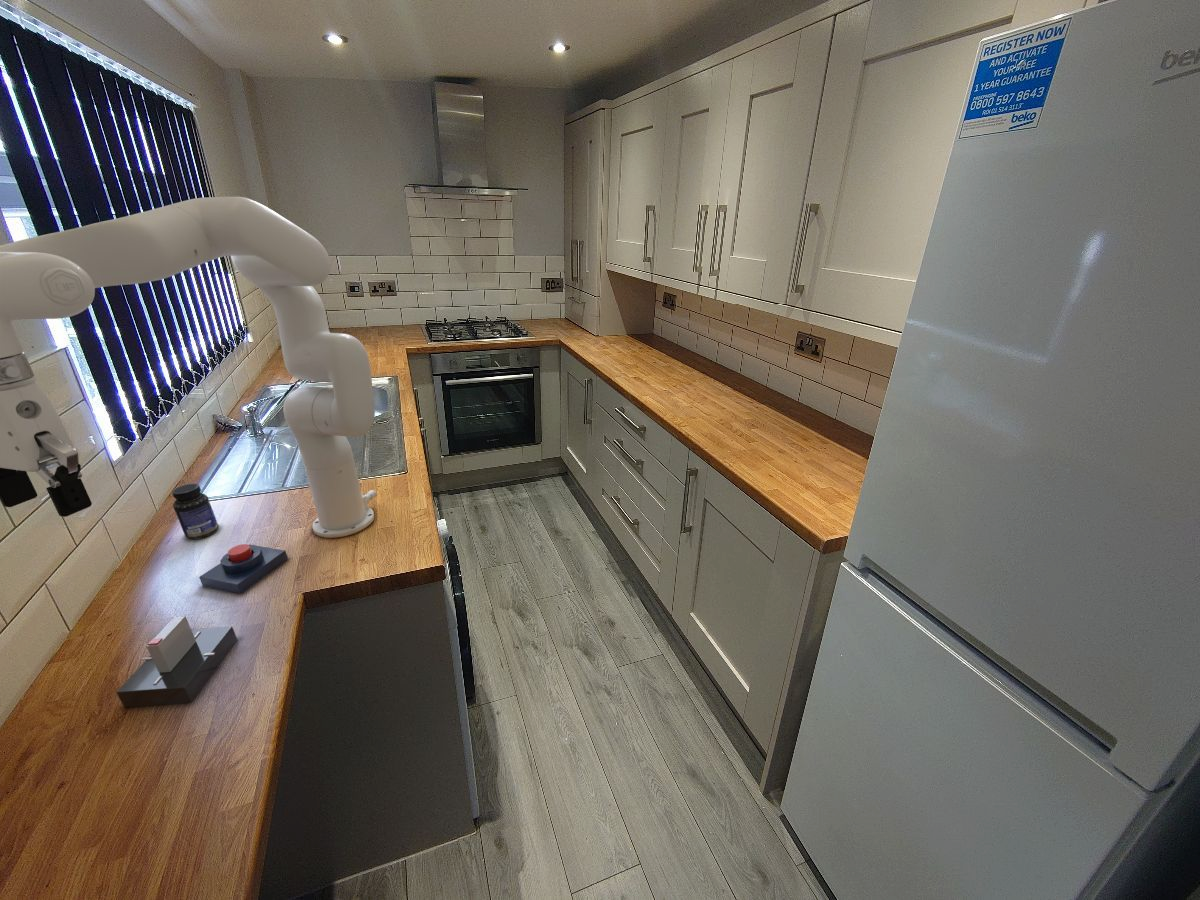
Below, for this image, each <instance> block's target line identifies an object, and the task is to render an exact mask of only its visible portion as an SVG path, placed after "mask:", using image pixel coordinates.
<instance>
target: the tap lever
mask: <svg viewBox="0 0 1200 900" xmlns="http://www.w3.org/2000/svg"><path fill="white" fill-rule="evenodd" d="M191 629H192V628H191V626H190V623H189V621H188V619H187V616H186V615H182V616H181V615H180V616H174V617H173V618H172V619H171V620H170V621H169V622H168V623H167V624H166V625H165V626H164V627H163V628H162V629H161V630H159V632H158V634H157V635H155V636H154V638H152V639H150V641H149V642H148V643H147V645H146V646H145V647H146V649H147V651H148V653H149V656H150V655H151V657H152V659H153V661H154V663H155V666H156V668H157V670H158V672H159V673H162V672H171V671H172V669H173V668H174V667H175V666H176V665H177V664H178V662H179V661H180V660H181V659H182V658H183V656H184V655H185V654H186V653H187V652H188V651H189V649H190V648H191V647H192V646H193V645H194V644H195V642H196V640H195V637H194V635H193V633H192V630H191Z"/></svg>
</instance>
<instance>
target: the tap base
mask: <svg viewBox="0 0 1200 900" xmlns="http://www.w3.org/2000/svg"><path fill="white" fill-rule="evenodd" d="M191 630H192V633H193V635H194V637H195V640H196V642H195V644H194V645H193V646H192V647H191V648H190V649H189V651H188V652H187V653H186V654H185V655H184V656H183V658H182V659H181V660H180V661H179V662H178V664H177V665H176V666H175V667H174V668H173V669H172V671H171V672H162V673H159V672H158V670H157V668H156V666H155V663H154V661H153V659H152V657H151V655H150V654H149V656H147V657H142V658H141V661H143V663H141V665H140V666H139V667H138V668H137V669H136V670H135V671H134V673H132V674H131V675H130V677H129V678H128V679H127V680H126V681H125V682H124V683H123V685H122V686H121V687H120V688H119V689H118V690H117V691H116V695H117V697H118V699H119V701H120V702H121V704H122V706H123V708H125V709H126V708H137V707H138V708H139V707H151V706H162V705H163V706H165V705H176V704H177V705H178V704H189V703H190V704H191V703H193V701H194V700H195V698H196V697H197V696H198V694H199V693H200V691H202V689H203V688H204V687H205V685H206V684H207V682H209V680H210V679H211V677H212V676H213V675H214V673H215V671H216V670H218V668H219V666H220V665H221V663H222V662H223V661H224V659H225V658H226V657H227V656H228V654H229V653H230V651H231V650H232V649H233V648H234V646H235V645H236V644H237V642H238V638H237V635H236V632H235V630H234V627H233V625H232V626H219V627H201V628H191Z"/></svg>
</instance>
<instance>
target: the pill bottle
mask: <svg viewBox="0 0 1200 900" xmlns="http://www.w3.org/2000/svg"><path fill="white" fill-rule="evenodd" d="M201 491H202V489H201V486H200V485H199V484H198V483H188V484H183V485H181V486H177V487H175V488H174V489H173V490H172V491H171V494H172V496H173V498H174V499H175V501H173V504H172V507H173V510H174V512H175V515H176V517H177V520H178V523H179V525H180V528H181V529H182V532H183V535H184V537H185V538H186V539H189V540H201V539H204V538H207V537H210V536H211V535H214V534H215V533H217V532H218V530H219V527H220V526H219V523H218V521H217V517H216V515H215V513H214V510H213V508H212V505H211V502H210V500H209V497H208V496H207V494H205V493H203V492H201Z"/></svg>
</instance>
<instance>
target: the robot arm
mask: <svg viewBox="0 0 1200 900" xmlns="http://www.w3.org/2000/svg"><path fill="white" fill-rule="evenodd" d="M223 257H231V260H232V263H233V265H234V267H235V268H236V270H237V271H238V272H239V273H240V275H242V277H244V278H245V279H246V280H247V281H249V282H250V283H252V284H253V285H254V286H256V287H257V288H258V289H259V290H260V291H261V292H262V293H263V294H264V295H265V296H266V297H267V299H268V301H269V302H270V303H271V306H272V307H273V310H274V314H275V318H276V323H277V327H278V333H279V340H280V346H281V352H282V357H283V362H284V363H283V364H284V366H285V369H286V371H287V372H288V374H289V375H290V376H291V377H293V378H295V379H298V380H303V381H308V382H309V381H310V382H323V383H331V386H332V387H329V386H328V387H327V386H301V387H299V388H296V389H294V390H292V391H291V392H290V393H288V395H287V396H286V398H285V399H284V402H283V407H282V410H283V416H284V419H285V422H286V425H287V427H288V428H289V430H290V432H291V434H292V435H293V437H294V439H295V443H296V444H297V447H298V450H299V453H300V456H301V461H302V463H303V467H304V468H303V469H304V471H305V476H306V478H307V482H308V486H309V490H310V493H311V497H312V501H313V504H314V508H315V511H316V514H317V518H315V520H314V521H313V523H312V531H313V533H314V534H315V535H317V537H321V538H327V539H333V538H334V539H336V538H342V537H347V536H351V535H354V534H357V533H358V532H360V531H361V532H362V531H363V530H364V529H367V527H369V526H370V525H371V524H372V522H373V521H374V519H375V513H374V510H373V509H372V507H369V505H368V504H369V503H370V501H372V500H373V499H374V498H376V497H377V496H378V494H377V491H376V490H374V489H370V490H369V491H367V492H366V493H365V494H364V493H363V492H362V489H361V484H360V481H359V476H358V472H357V471H358V470H357V467H356V463H355V459H354V454H353V449H352V446H351V444H350V442H349V439H348V438H347V437H349V438H350V437H351V438H356V437H361V436H364V435H366V434H367V433H368V432H369V431H370V430H371V429H372V428H373V424H374V422H375V417H376V415H375V414H376V411H375V410H376V409H375V408H376V407H375V398H374V389H373V381H372V380H373V379H372V372H371V371H372V370H371V364H370V358H369V355H368V352H367V349H366V348H365V346H364V345H363V343H362V342H361V341H360V340H359V339H358V338H357V337H355V336H353V335H351V334H348V333H341V332H330V329H329V324H328V319H327V318H328V317H327V314H326V309H325V305H324V302H323V300H322V298H321V296H320V294H319V293H318V292H317V289H315V286H317V285H320V284H322V283H324V282H325V281H326V279H327V278H328V277H329V275H330V272H331V260H330V256H329V254H328V251H327V250H326V248H325V247H324V245H323V244H322V243H321V242H320V241H319V240H318V239H317V238H316V237H315V236H314V235H312V234H310V233H309V232H307V231H306V230H304V229H303V228H301V227H300V226H298V225H297V224H295V223H294V222H292V221H290V220H289V219H288V218H286V217H284V216H283V215H281V214H279V213H277V212H276V211H274V210H273V209H271V208H269V207H267V206H266V205H264V204H262V203H260V202H258V201H256V200H253V199H251V198H248V197H244V196H212V197H211V196H210V197H209V196H208V197H198V198H191V199H186V200H183V201H179V202H175V203H171V204H168V205H167V204H166V205H164V206H160V207H156V208H153V209H150V210H146V211H141V212H137V213H134V214H129V215H126V216H122V217H118V218H113V219H108V220H104V221H99V222H95V223H90V224H87V225H83V226H79V227H75V228H71V229H66V230H62V231H56V232H52V233H47V234H42V235H37V236H33V237H29V238H28V237H27V238H25V239H21V240H16V241H12V242H8V243H4V244H0V501H1V503H2V505H3V507H6V508H13V507H15V506H17V505H20V504H21V505H22V504H23V503H26V502H29V501H31V500H34V499H36V498H37V497H38V493H37V491H36V488H35V486H34V485H33V483H32V480H31V478H30V476H29V474H28V472H30V473H34V472H35V473H36V474H37V475H38V476H40V478H41V479H42V480H44V482H46V483H47V484H48V485H49V486H48V487H45V489H46V491H47V493H48V495H49V497H50V499H51V501H52V504H53V505H54V508H55V510H56V512H57V514H58V516H59V517H64V518H66V517H69V516H72V515H73V514H77V513H78V512H81V511H84V510H85V509H88V508H90V507H92V500H91V498H90V495H89V493H88V491H87V489H86V487H85V485H84V482H83V480H82V478H83V474H82V472H81V469H82V465H81V463H79V461H80V459H79V452H78V451H77V449H76V446H75V444H74V442H73V440H72V438H71V436H70V433H69V432H68V430H67V428H66V426H65V424H64V422H63V420H62V419H61V417H60V415H59V413H58V411H57V410H56V408H55V406H54V405H53V403H52V401H51V400H50V398H49V396H48V395H47V394H46V393H45V390H43V388H42V387H41V386H40V384H39V383H38V382H37V378H36V375H35V373H34V371H33V369H32V366H31V364H30V361H29V359H28V358H27V355H26V353H25V351H24V349H23V347H22V344H21V341H20V340H19V337H18V335H17V332H16V331H15V328H14V326H13V324H12V322H13V321H17V320H55V319H57V320H58V319H59V320H60V319H67V318H71V317H73V316H76V315H79V314H80V313H83V312H84V311H86V310H88V308H89V307H90V306H91V304H93V301H94V299H95V295H96V294H95V293H96V289H98V288H99V289H100V288H104V287H106V288H107V287H113V286H115V287H116V286H126V285H138V284H147V283H150V282H156V281H161V280H165V279H168V278H171V277H173V276H175V275H178V274H181V273H182V272H185V271H188V270H190V269H193V268H195V267H198V266H201V265H203V264H206V263H208V262H211V261H214V260H217V259H220V258H223ZM52 468H56V469H55V472H54V474H53V472H51V469H52Z"/></svg>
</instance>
